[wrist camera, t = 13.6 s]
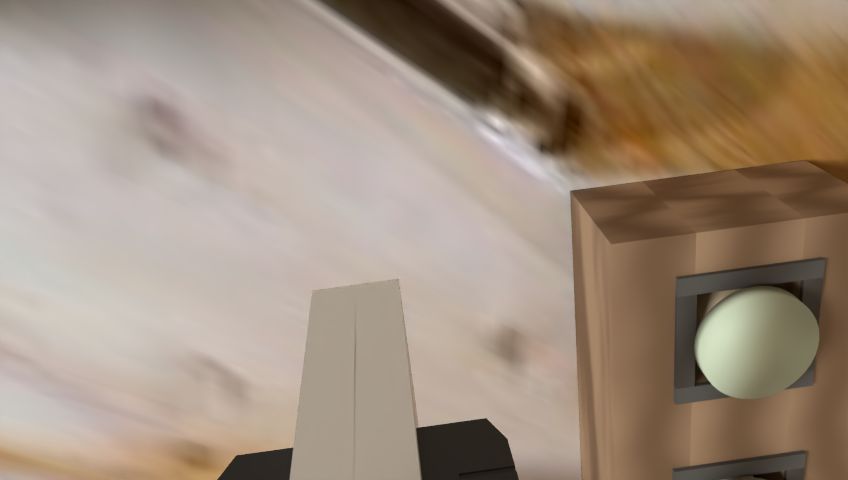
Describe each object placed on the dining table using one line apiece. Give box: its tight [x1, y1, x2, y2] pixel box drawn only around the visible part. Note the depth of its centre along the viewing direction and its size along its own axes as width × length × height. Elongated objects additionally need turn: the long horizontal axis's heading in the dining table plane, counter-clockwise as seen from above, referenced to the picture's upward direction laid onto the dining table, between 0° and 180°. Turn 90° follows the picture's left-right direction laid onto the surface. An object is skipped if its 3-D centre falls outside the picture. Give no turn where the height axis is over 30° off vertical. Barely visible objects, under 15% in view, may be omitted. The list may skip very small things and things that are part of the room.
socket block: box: [570, 160, 848, 480], centre depth 47 cm, size 14×24×8 cm, turn 6°
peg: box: [694, 286, 819, 399], centre depth 43 cm, size 6×6×8 cm
